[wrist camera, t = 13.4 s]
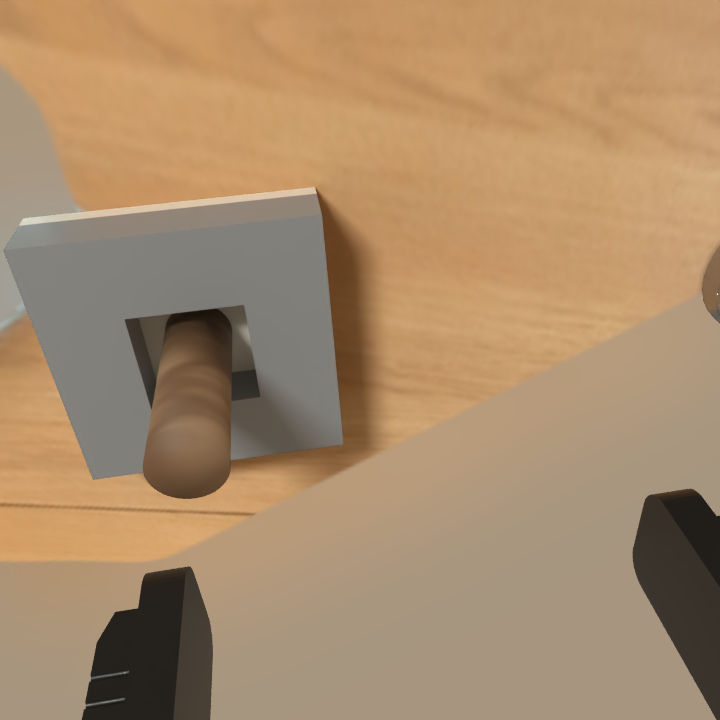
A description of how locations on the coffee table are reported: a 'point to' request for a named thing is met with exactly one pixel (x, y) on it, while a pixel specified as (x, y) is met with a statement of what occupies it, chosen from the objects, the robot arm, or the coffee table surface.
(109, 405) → the socket block
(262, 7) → the coffee table surface
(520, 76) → the coffee table surface
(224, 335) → the walnut peg
